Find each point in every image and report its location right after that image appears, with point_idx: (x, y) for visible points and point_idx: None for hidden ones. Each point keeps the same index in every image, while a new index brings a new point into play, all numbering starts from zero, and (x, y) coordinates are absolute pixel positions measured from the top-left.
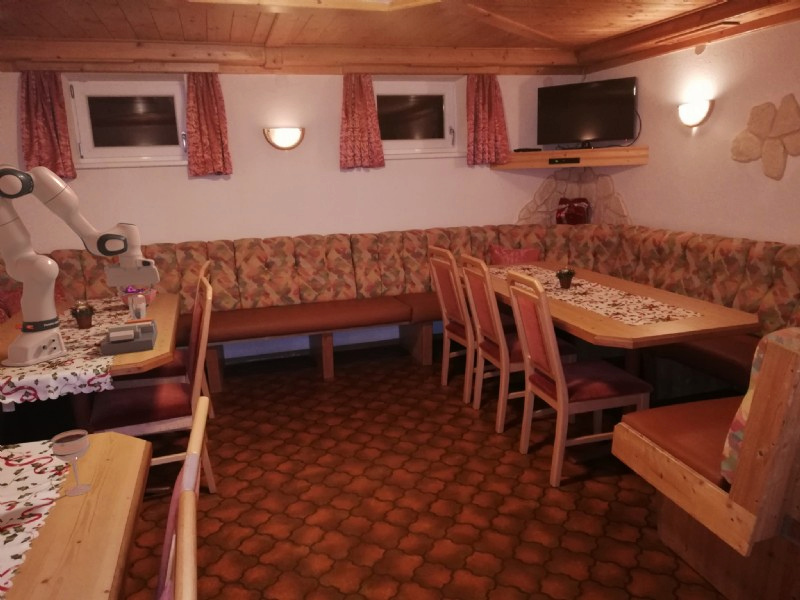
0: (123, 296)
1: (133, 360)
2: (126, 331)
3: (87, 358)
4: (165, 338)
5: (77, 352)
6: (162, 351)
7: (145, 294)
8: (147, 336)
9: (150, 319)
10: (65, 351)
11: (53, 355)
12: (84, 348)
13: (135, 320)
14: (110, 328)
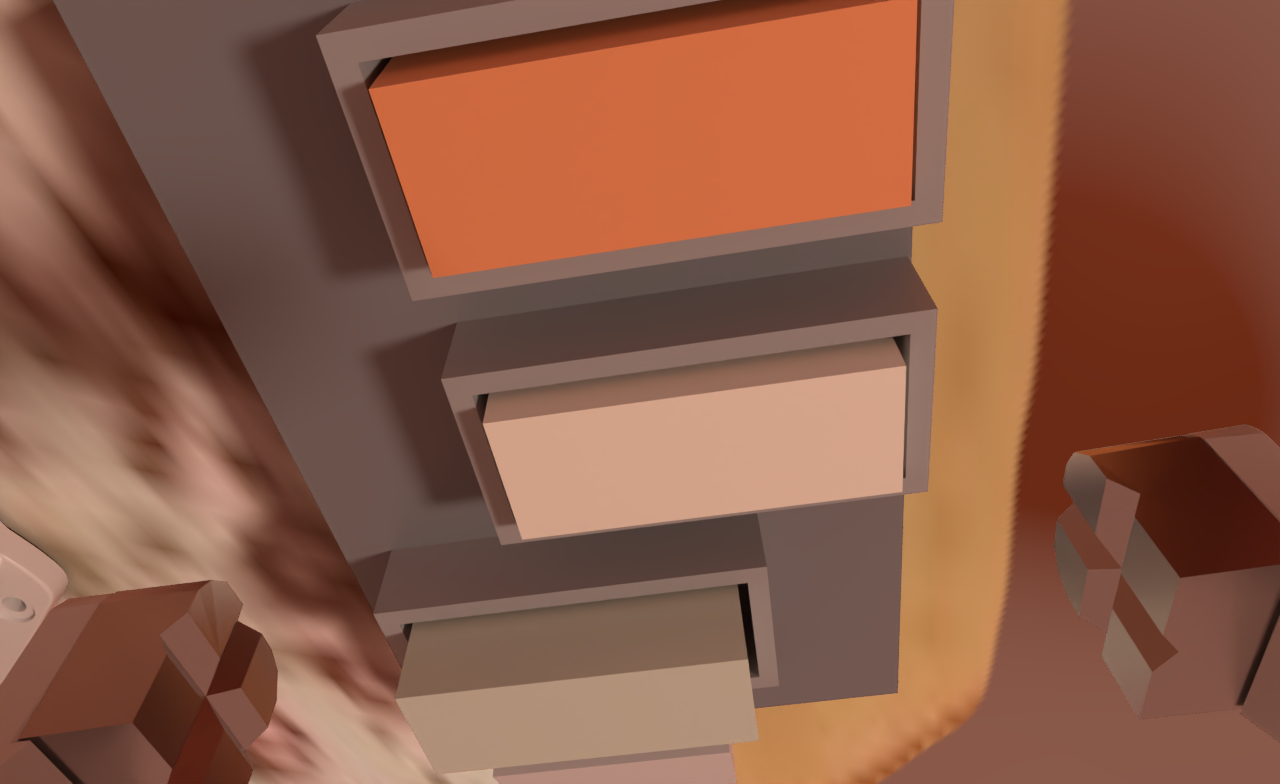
0: (252, 673)
1: (755, 779)
2: (662, 765)
3: (359, 683)
4: (996, 252)
5: (118, 518)
6: (953, 665)
7: (1078, 585)
8: (842, 594)
9: (883, 195)
10: (23, 575)
11: (4, 650)
12: (83, 401)
13: (581, 182)
14: (463, 767)
